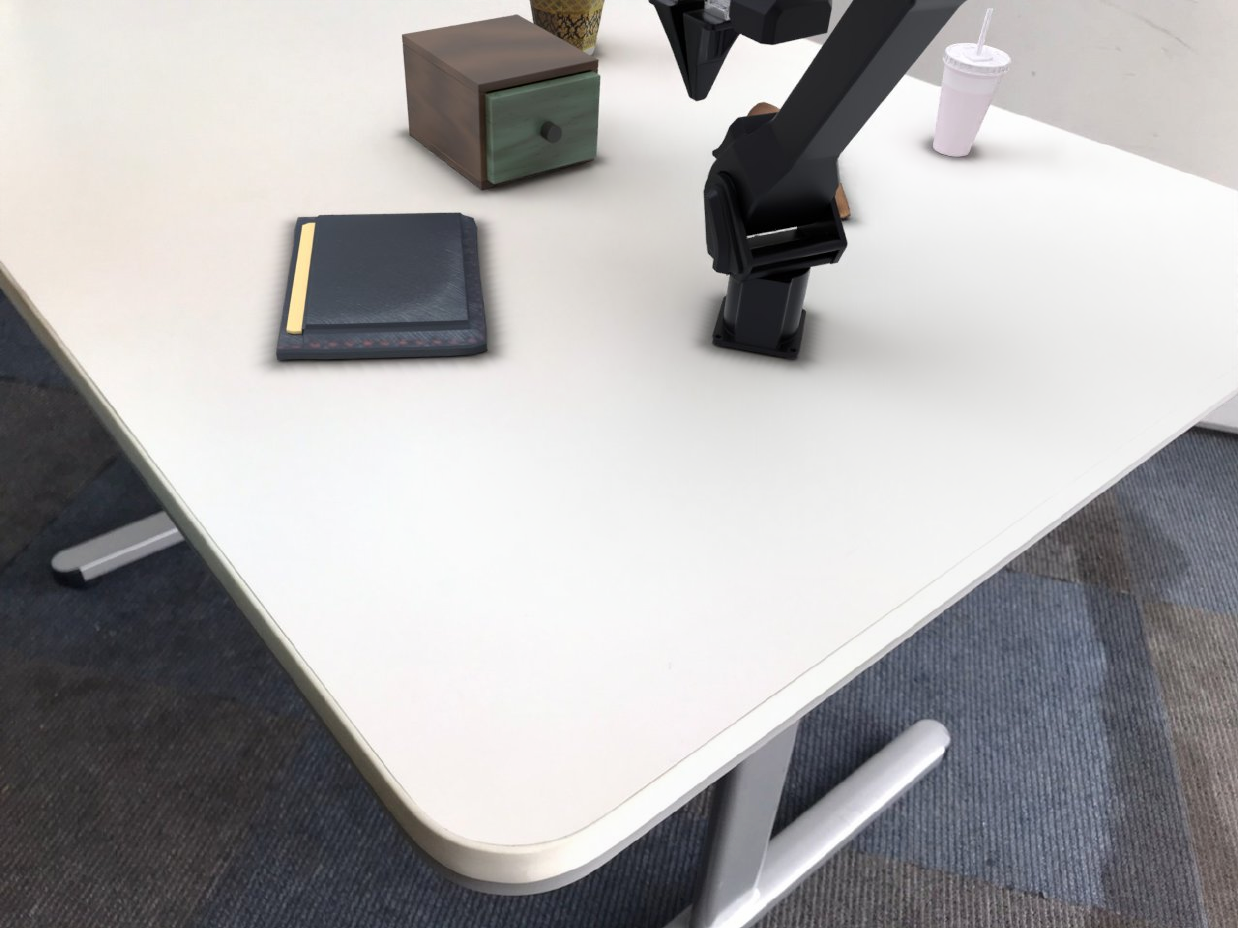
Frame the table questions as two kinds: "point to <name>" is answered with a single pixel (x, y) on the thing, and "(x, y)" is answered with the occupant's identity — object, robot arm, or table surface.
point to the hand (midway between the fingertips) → (697, 99)
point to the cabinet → (477, 82)
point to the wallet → (383, 288)
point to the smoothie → (967, 92)
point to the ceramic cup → (570, 20)
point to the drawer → (541, 125)
